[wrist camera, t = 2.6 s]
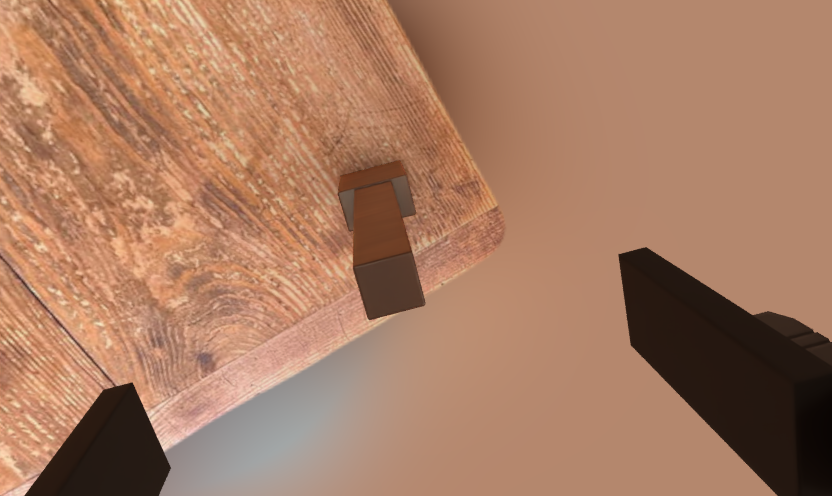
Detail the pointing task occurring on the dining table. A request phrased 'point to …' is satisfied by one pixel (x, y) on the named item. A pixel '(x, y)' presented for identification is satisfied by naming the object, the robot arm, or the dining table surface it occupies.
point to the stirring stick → (381, 238)
